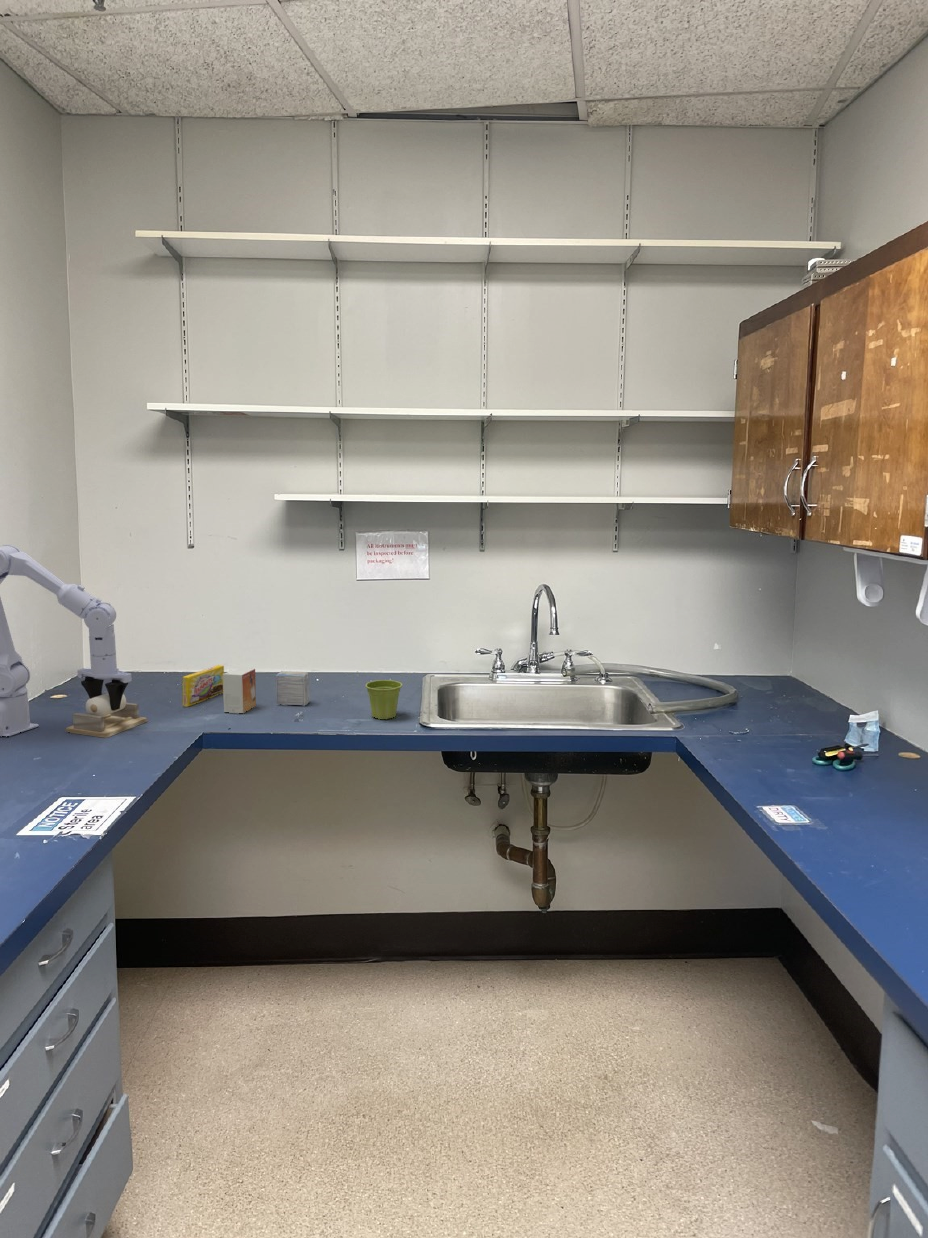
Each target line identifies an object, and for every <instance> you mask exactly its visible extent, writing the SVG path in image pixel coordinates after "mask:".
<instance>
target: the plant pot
mask: <svg viewBox="0 0 928 1238" xmlns="http://www.w3.org/2000/svg"><path fill="white" fill-rule="evenodd" d="M402 687H403V683H402V682H400V681H396V680H391V679H380V680H378V679H377V680H372V681H368V682H367V683H366V684H365V688H366V689H367V693H368V698H369V704H370V711H371V716H373V717H372V718H374V717H375V718H378V719H377V720H380V719H386V720H388V719H391V718H392V719H394V718H396V717H395V716H397V709H398V702H399V696H400V692H401V688H402ZM393 717H394V718H393ZM375 718H374V719H375Z"/></svg>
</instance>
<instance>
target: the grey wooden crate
mask: <svg viewBox="0 0 928 1238" xmlns="http://www.w3.org/2000/svg"><path fill="white" fill-rule="evenodd" d="M309 680H310V679H309V672H308V671H291V670H289V671H284V670H283V671H280V672H278V673H277V674H276V675H275V681H276V682H275V684H276V685H275V686H276V705H277V704H285V705H284V706H287V705H306V706H307V705H308V703H310V681H309Z"/></svg>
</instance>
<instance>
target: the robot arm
mask: <svg viewBox="0 0 928 1238" xmlns="http://www.w3.org/2000/svg"><path fill="white" fill-rule="evenodd" d="M8 576H22V577H27V578H29V579H30V580H32V581H33V582H35V583H36V584H38V585H39V586H41V587H42V588H45V589H46V590H47V591H48V592H50V593H52V594H53V595H55V596H56V599H57V603H59V604H60V605H61V606H63V607H64V608H65V609H66V610H69V611H70V612H71V613H73V614H74V615H75V616H77V617H78V618H80V619H82V620H83V622H84V624H85V625H86V628H88V633H89V634H88V642H89V657H90V658H89V659H90V668H84V667H83V668H81V669H80V668H79V669H77V670H76V671H77V678H80V679H82V678H84V680H81V681H80V684H81V686H82V687H83V688H84V690H85V692H86V693H87V695H88V697H89V699H91V698H94V697H97V696H100V695H103V685H104V686H105V688H106V690H107V693H108V694H109V698H110V706H111V710H112V711H115V710H118V709H120V704H121V699H122V696H123V694H124V693H125V690H126V688H127V687H128V684H129V683H130V682H132V680H133V679H132V673H131V672H126V671H122V670H120V669H119V668H118V664H117V649H116V648H117V647H116V633H115V625H114V622H115V621H116V619H117V611H116V609H115V607H113V606H112V605H111V603H110V602H103V601H102V599H100V597H98V598H96V597H94V596H93V595H91V594H90V593H89V592H87V591H86V590H85V587H84V586H83V585H82V584H79V585H77V584H75V583H68V584H67V583H66V582H63V581H62V580H61V579H60V578H59V577H57V576H56V575H55V574H54V573H52V572H51V571H50V570H48V569H47V568H45V567H44V566H43V565H41V563H39V562H38V561H36V560H35V559H34V558H33V557H31V556H30V555H29V554H28V553H26V552H25V551H22V550H20V548H18V547H16V546H14V545H12V544H3V545H1V546H0V585H1V584H2V583H3V582H4V580H5V579H6V578H7V577H8ZM7 620H8V619H7V616H6V613H5V608H4V605H3V602H2V598H1V596H0V737H2V736H6V737H5V738H8V737H7V736H9V737H11V736H14V735H17V734H20V732H21V733H23V732H26V731H29V730H32V729H34V728H37V727H40V726H39V724H38V723H31V719H30V707H29V694H28V688H27V684H28V683H29V681H30V678H31V672H30V670H29V668H28V667H27V666H26V664H25V663H24V661H23V659H22V656H21V655H20V654H19V653H18V651H16V649H15V645H14V642H13V638H12V635H11V630H10V628H9V624H8V621H7ZM104 681H109V682H106V683H104Z"/></svg>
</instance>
